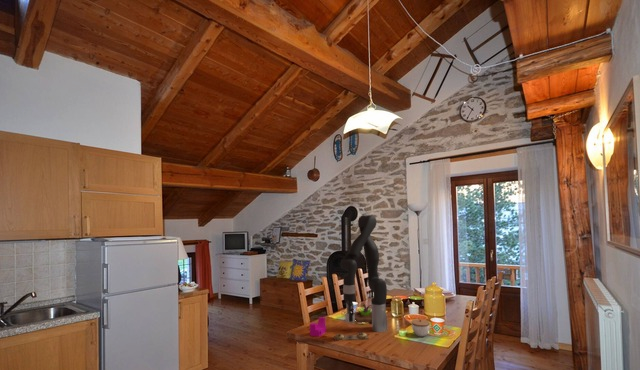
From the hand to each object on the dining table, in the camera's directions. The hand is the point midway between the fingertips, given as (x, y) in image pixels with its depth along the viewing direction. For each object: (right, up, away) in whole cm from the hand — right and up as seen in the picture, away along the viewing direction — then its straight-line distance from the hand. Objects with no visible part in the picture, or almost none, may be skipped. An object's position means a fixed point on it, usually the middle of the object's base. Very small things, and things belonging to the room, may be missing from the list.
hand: (350, 319), depth 217 cm
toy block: (-19, -13, +12) cm, 26 cm away
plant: (+14, -14, +37) cm, 42 cm away
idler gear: (0, -1, 0) cm, 1 cm away
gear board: (0, -11, -1) cm, 11 cm away
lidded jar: (+44, -11, +3) cm, 46 cm away
